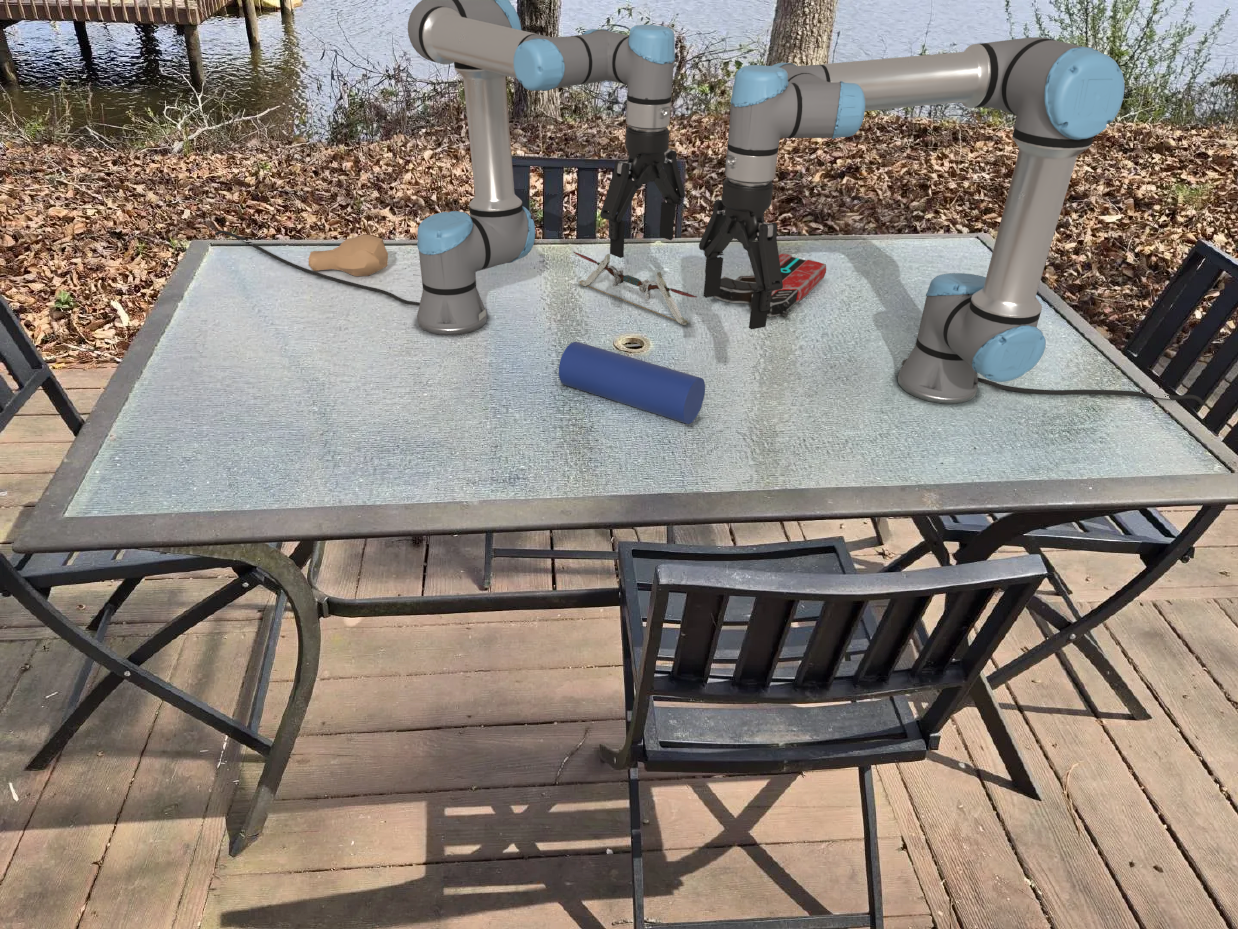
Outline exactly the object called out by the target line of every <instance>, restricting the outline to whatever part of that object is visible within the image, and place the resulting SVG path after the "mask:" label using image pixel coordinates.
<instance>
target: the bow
mask: <svg viewBox="0 0 1238 929" xmlns="http://www.w3.org/2000/svg"><path fill="white" fill-rule="evenodd" d="M573 254H574V255H577V256H578V257H580V258H582V259H584V260H586V261H588V262H590V263H593V264H596V265H597V268H595V270H593V271H592V272H591V273H590V274H589V275H588V276H587V278H586V280H583V279H582V280H579V281H578V284H579V285H580V286H583V287H589V288H591V289H593V290H596V291H599V292H600V293H604V294H606V295H609V296H612V297H614V298H617V299H619V300H621V301H625V302H626V303H629V304H632V305H634V306H637V307H640V308H642V309H645V310H647V311H650V312H652V313H655V314H657V315H659V316H662V317H665V318H667V319H670V320H672V321H675V322H677V323H678V324H680V325H682V326H687V325H688V324H690V321H689V320H687V318H685V317H683V316H682V315H681V312H680V309H679V307H678V305H677V303H676V302H675V300H674V298H673V297H672V295H671V293H670V292H672V293H674V294H678V295H680V296H684V297H688V298H698V296H697V295H693V294H692V293H689V292H685V291H683V290H681V289H677V288H672V287H671V288H670V287H668V285H667V282H666V281H665V279H664V278H663V274H662V271H657V272H656V278H655V279H656V281H655V280H651V281H650V280H649V278H646V279H645V280H641V279H640V278H637V277H635V276H632V275H629V274H626V275H625V274H624V270H623V269H620V270H618V269H617V268H616V267H615V266H614V265H612V264H611V265H610V262H611V254H610V253H607V254H605V255H604V258H603V259H602V260H601V261H600V262H598V261H596V260H595V259H593V258H591V257H589V256H588V255H587V256H586V255H584V254H582V253H579V252H576V251H573ZM606 271H607V272H608V273H609V274H610V275H611V276H612V277H613V282H612V287H613V288H616V287H619V285H621V284H624V283H628V284H630V285H633V286H636V287H638V290H639V292H640V293H642V294H645V295H644V296H645V298H644V299H645V300H651V299H652V293H651V291H653V290H659V292H660V293H661V295H662V297H663V298H664V301H665V303H666V305H667V307H668V309H669V311H670V313H671V315H672V316H673V318H672V317H670V316H667V315H664V314H662V313H660V312H657V311H654V310H652V309H649V308H646V307H644V306H642V305H638V304H636V303H634V302H631V301H628V300H626V299H623V298H621V297H618V296H616V295H613V294H611V293H609V292H606V291H604V290H601V289H598V288H596V287H593V286H590V285H591V284H594V283H595V281H596V280H597V279H598V278H599V277H600V276H601V275H602V274H603V273H604V272H606Z"/></svg>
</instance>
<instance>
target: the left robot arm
mask: <svg viewBox="0 0 1238 929" xmlns="http://www.w3.org/2000/svg"><path fill="white" fill-rule="evenodd" d="M407 34H408V39H409V42H410V44H411V46H412V48H413V50H414V51H415V52H416V53H417V54H418V55H419V56H420V57H422V58H423V59H424V60H426V61H430V62H434V63H437V64H440V65H452V64H453V67H454V70H455V71H456V72H457V74H459V75H460V76H461V77H462V79H463V80H462V81H463V89H464V100H465V109H466V110H465V111H466V119H467V131H468V140H469V149H470V159H471V160H470V161H471V169H472V180H473V187H474V190H473V191H474V196H473V198H472V200H471V201H470V202H469V203H468V209H469V214H468V213H466V212H464V211H458V210H453V211H452V210H451V211H442V212H438V213H434V214H432V215H429V216H427V217H426V218H424V219H423V220H422V221H421V222H420V224H419V225H418V227H417V230H416V231H417V232H416V233H417V238H416V239H417V242H416V246H417V250H418V258H419V267H420V275H421V276H420V277H421V284H422V292H421V297H420V302H419V301H413V300H407V299H404V298H402V297H399V296H398V295H396V294H394V293H392V292H389V291H388V290H384V289H381V288H376V287H372V286H367V285H363V284H360V283H355V282H352V281H348V280H344V279H341V278H337V277H333V276H330V275H326V274H323V273H320V272H318V271H313V270H312V269H308V268H305V267H303V266H301V265H298V264H296V263H294V262H291V261H288V260H286V259H284V258H282V257H280V256H278V255H276V254H274V253H272V252H270V251H268V250H267V249H265V248H262V247H261V246H259V245H257V244H255V243H254V244H253V245H250V246H251V247H253V248H254V249H256V250H258V251H260V252H261V253H264V254H265V255H267V256H269V257H271V258H272V259H275V260H277V261H279V262H281V263H283V264H285V265H288V266H290V267H292V268H294V269H297V270H300V271H302V272H305V273H307V274H310V275H313V276H316V277H319V278H323V279H326V280H329V281H333V282H337V283H340V284H343V285H347V286H351V287H354V288H359V289H363V290H366V291H367V290H368V291H371V292H375V293H379V294H383V295H385V296H388V297H390V298H393V299H394V300H396V301H398V302H400V303H403V304H406V305H411V306H417V307H418V310H417V315H416V318H417V325H418V326H419V328H420V329H421V330H423V331H424V332H427V333H430V334H433V335H440V336H459V335H465V334H469V333H473V332H476V331H477V330H480V329H481V328H483V327H484V326H485V325H486V323H487V320H488V316H487V309H486V306H485V304H484V302H483V299H482V298H481V295H480V293H479V291H478V288H477V278H476V277H477V276H476V273H477V272H479V271H480V272H481V271H483V270H487V269H490V268H493V267H497V266H501V265H505V264H511V263H514V262H516V261H518V260H521V259H523V258H525V257H526V256H528V254H529V253H530V252H531V251H532V249H533V247H534V244H535V242H536V225H535V221H534V218H532V214H531V212H530V211H529V209H527V208H526V207H525V206H523V201H522V199H521V198H520V197H519V196H518V195H516V193H515V183H514V170H513V156H512V145H511V143H512V142H511V133H510V132H511V131H510V118H509V106H508V94H507V80H506V77H510V78H512V79H516V80H517V82H518V83H520V84H521V85H522V87H523V88H524V89H525V90H527V91H531V92H532V91H533V92H535V91H536V92H537V91H542V92H547V91H550V90H551V91H552V90H554V89H560V88H568V87H573V86H580V85H588V84H593V83H600V82H614V83H618V84H622V85H626V86H627V88H626V89H627V92H626V111H625V112H626V114H625V124H626V125H627V127H626V128H625V142H624V143H625V145H624V146H625V149H626V151H627V153H628V157H627V160H626V161H621V160H616V161H615V162H614V166H613V174H612V177H611V180H610V183H609V186H608V190H607V192H606V195H605V198H604V201H603V203H602V206H601V210H600V214H599V216H600V218H602V219H604V220H607V221H608V238H609V254H610V256H611V255H612V256H614V257H617V258H619V259H622V258H624V256H625V255H624V254H625V233H626V232H625V229H626V221H625V220H623V218H624V216H625V214H626V212H627V210H628V208H629V207H630V204H631V203H632V201H633V199H634V197H635V195H636V193H637V191H638V190H640V189H641V188H642V186H643V185H647V184H648V183H649V182H652V183H653V182H654V184H655V186H656V188H657V189H658V191H659V193H660V195H661V196H662V198H663V199H664V201H662V202H661V204H660V217H659V218H660V219H659V234H658V235H659V237H660V238H663V239H665V240H668V241H672V240H673V239H674V227H675V226H674V225H675V219H676V212H677V205H678V206H680V205H682V202H683V200H682V199H684V198H685V197H686V191H685V188H684V185H683V181H682V177H681V173H680V170H679V167H678V154H677V150H674V149H670V147H669V145H670V132H671V131H670V129H669V128H668V127H669V126H670V124H671V108H672V107H671V106H672V99H673V98H672V93H673V92H672V91H673V79H674V68H675V60H676V53H675V52H676V51H675V50H676V48H675V47H676V46H675V45H676V44H675V38H676V36H675V33H674V30H673V29H671V27H668V26H666V25H656V24H637V25H634V26H632V27H631V28H630V30H629V35H628V34H624V33H619V32H615V31H612V30H609V29H606V28H602V29H598V28H590V29H587V30H586V31H584V32H582V34H576V35H570V36H568V35H567V36H557V37H556V36H548V35H543V34H538V33H535V32H530V31H525V30H522V24H521V21H520V17H519V14H518V12H517V10H516V8H515V6H514V5H513V4H512V2H511V1H510V0H420V1H419V2H418V3H417V4H415V6H414V7H413V9H412V10H411V12H410V15H409V17H408V21H407ZM221 234H223V235H228V236H230V237H232V238H235V239H238V240H241V241H242V240H246V241H249V240H248V239H246V238H245V237H243V236H240V235H238V234H235V233H233V232H230V231H227V230H218V231H216V232H215V234H214V236H215V237H217V236H219V235H221ZM245 243H246V244H247V243H253V242H252V241H250V242H245Z"/></svg>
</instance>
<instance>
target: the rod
mask: <svg viewBox="0 0 1238 929" xmlns="http://www.w3.org/2000/svg"><path fill="white" fill-rule="evenodd" d="M558 378H559V381H560V383H561V384H562V385H564V386H566V387H570V388H573V389H576V390H580V391H582V392H586V393H589V394H592V395H595V396H599V397H602V398H605V399H608V400H610V401H614V402H617V403H620V404H624V405H627V406H629V407H633V408H635V409H636V408H637V409H639V410H642V411H645V412H649V413H652V414H655V415H659V416H661V417H664V418H668V419H670V420H674V421H677V422H680V423H683V424H687V425H689V424H690V425H691V424H692V423H693V422H694V421H695V420H696V418H697V417H698V415H699V413H700V411H701V409H702V407H703V402H704V401H705V400H704V399H705V394H706V383H705V379H704V378H702V377H699V376H697V375H693V374H689V373H686V372H683V371H680V370H675V369H673V368H669V367H665V366H663V365H658V364H655V363H652V362H648V361H645V360H642V359H638V358H634V357H631V356H629V355H628V356H627V355H624V354H622V353H617V352H614V351H611V350H608V349H604V348H600V347H597V346H593V345H591V344H586V343H584V342H580V341H573V342H570V344H568V346H566V348H565V349H564V351H563V353H562V355H561V357H560V361H559V365H558Z"/></svg>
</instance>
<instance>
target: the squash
mask: <svg viewBox="0 0 1238 929" xmlns="http://www.w3.org/2000/svg"><path fill="white" fill-rule="evenodd" d="M388 263H389V253H388V251H387V248H386V246H385V242H384V239H382V238H381V237H378V236H374V235H372V234H366V233H363V234H361V235H358V236H355V237H349V238H346V239H345V240H344V241H342V242H341V243H340V245H339V246H336V247H335V248H333V249H327V250H313V251H310V253H309V256H308V267H310V270H311V271H314V272H319V271H323V270H335V271H342V272H343V273H345V274H347V275H348V274H349V275H351V276H353V277H369V276H371V275H374V274H375V273H377V272H379V271H381V270H384V269H385V268H386V267H388Z"/></svg>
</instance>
